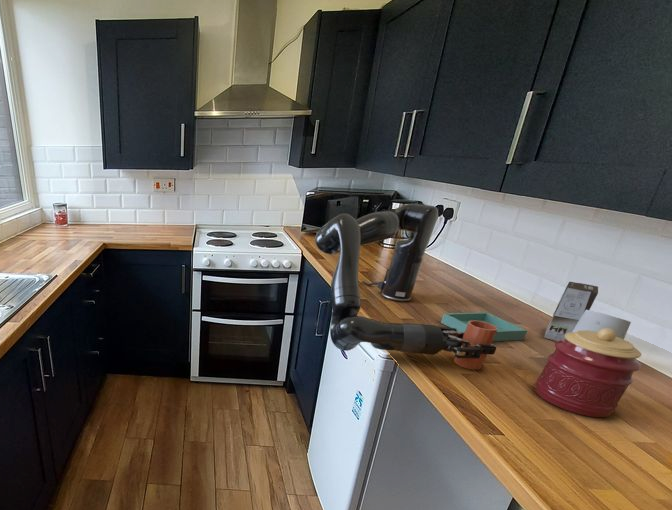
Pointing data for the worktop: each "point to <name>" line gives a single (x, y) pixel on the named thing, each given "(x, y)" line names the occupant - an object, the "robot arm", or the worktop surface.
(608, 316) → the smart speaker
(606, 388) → the kitchen canister
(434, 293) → the worktop surface
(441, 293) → the worktop surface
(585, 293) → the coffee box
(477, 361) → the tumbler
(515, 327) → the tray
